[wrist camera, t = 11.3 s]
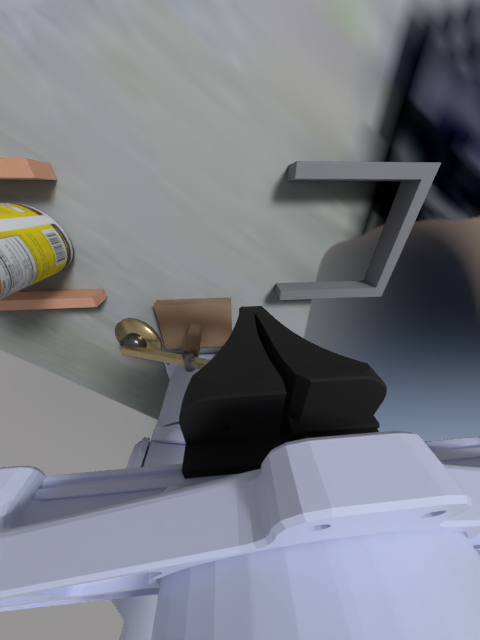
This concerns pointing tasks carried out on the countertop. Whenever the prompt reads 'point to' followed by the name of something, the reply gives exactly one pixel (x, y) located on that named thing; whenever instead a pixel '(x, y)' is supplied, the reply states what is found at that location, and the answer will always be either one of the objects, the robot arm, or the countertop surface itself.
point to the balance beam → (151, 345)
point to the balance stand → (194, 323)
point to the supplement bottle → (29, 247)
